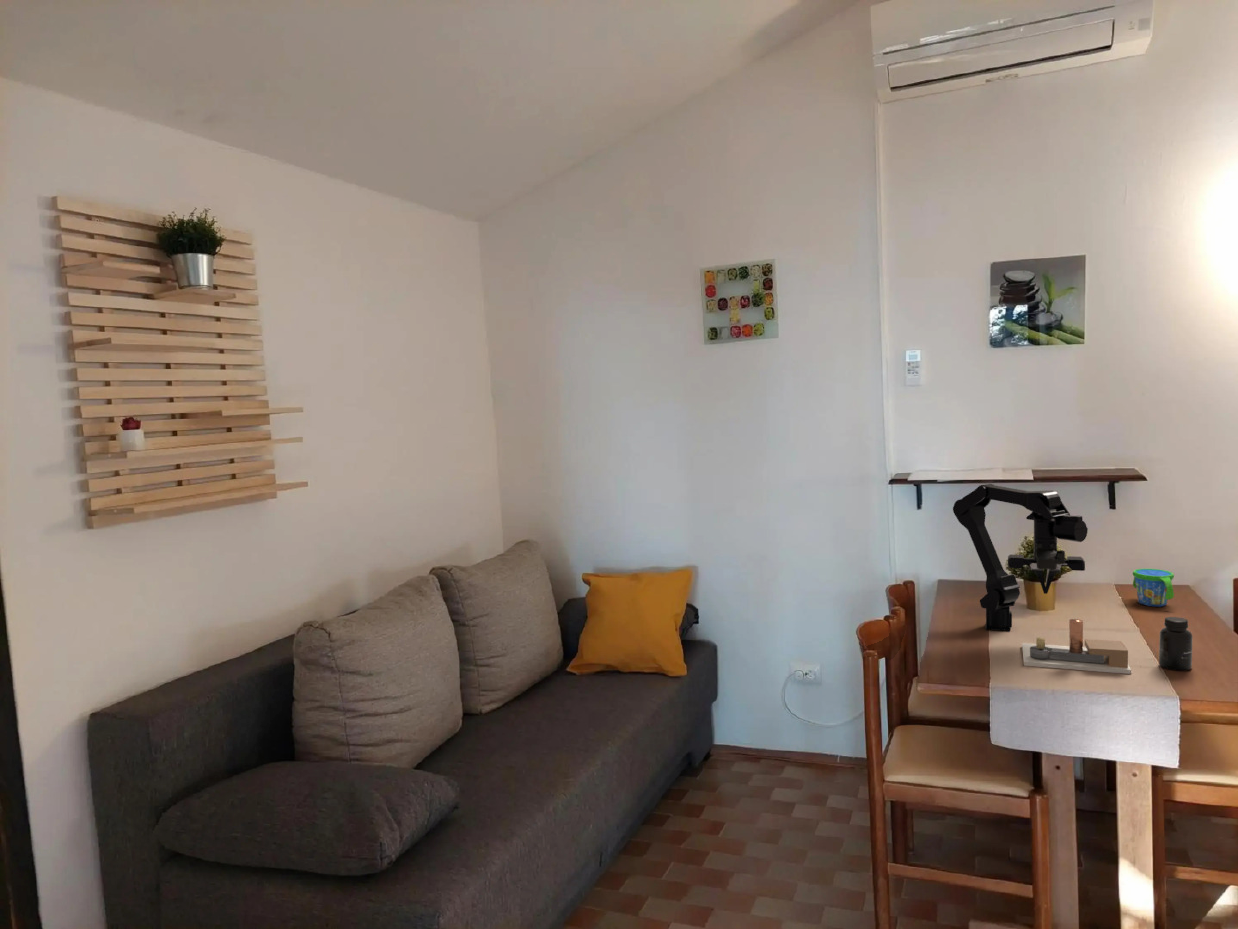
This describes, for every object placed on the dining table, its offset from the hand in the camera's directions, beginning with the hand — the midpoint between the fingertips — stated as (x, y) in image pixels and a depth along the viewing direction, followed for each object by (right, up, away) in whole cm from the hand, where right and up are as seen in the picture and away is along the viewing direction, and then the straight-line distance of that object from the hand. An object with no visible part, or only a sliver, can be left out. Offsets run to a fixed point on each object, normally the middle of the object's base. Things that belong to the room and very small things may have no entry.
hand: (1045, 593), depth 239 cm
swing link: (-4, -14, -19) cm, 24 cm away
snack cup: (+49, -8, +32) cm, 59 cm away
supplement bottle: (+20, -15, -24) cm, 35 cm away
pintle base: (-1, -15, -16) cm, 22 cm away
